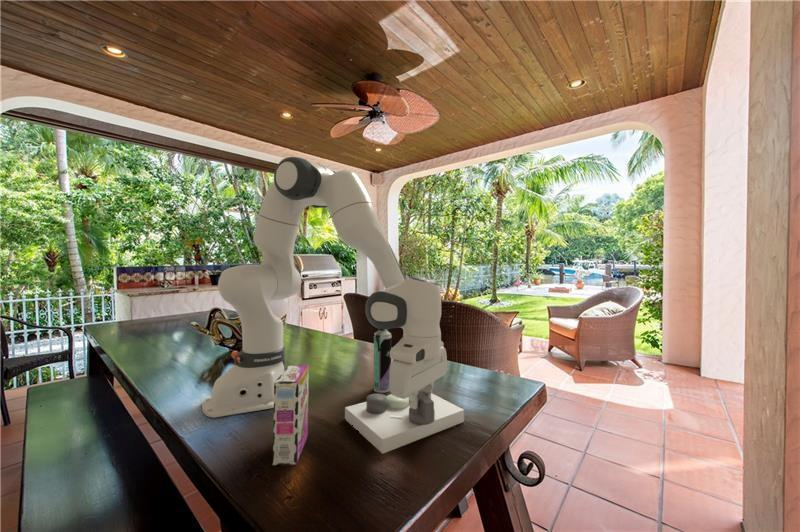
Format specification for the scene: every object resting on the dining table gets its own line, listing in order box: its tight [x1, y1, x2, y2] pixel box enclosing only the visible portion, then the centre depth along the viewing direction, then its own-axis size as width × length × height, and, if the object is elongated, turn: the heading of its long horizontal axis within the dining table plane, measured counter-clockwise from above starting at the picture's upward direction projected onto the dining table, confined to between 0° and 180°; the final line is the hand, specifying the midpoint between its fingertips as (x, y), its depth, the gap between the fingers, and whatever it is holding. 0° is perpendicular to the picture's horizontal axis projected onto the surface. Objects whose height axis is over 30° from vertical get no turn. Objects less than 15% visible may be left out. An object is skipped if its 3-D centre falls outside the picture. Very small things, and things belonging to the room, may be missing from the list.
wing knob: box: [409, 389, 435, 425], centre depth 76 cm, size 9×6×6 cm, turn 19°
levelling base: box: [344, 388, 465, 454], centre depth 81 cm, size 24×18×6 cm
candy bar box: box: [272, 365, 310, 467], centre depth 68 cm, size 11×5×16 cm, turn 5°
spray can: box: [373, 329, 393, 394], centre depth 101 cm, size 6×6×20 cm
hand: (420, 403), depth 76 cm, fingers closed on wing knob, 4 cm apart
